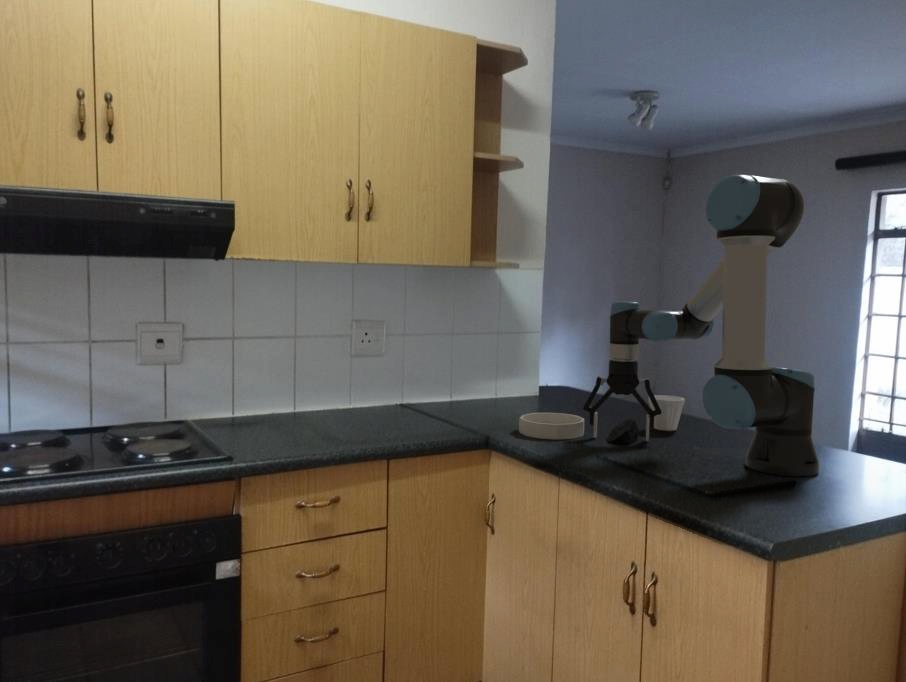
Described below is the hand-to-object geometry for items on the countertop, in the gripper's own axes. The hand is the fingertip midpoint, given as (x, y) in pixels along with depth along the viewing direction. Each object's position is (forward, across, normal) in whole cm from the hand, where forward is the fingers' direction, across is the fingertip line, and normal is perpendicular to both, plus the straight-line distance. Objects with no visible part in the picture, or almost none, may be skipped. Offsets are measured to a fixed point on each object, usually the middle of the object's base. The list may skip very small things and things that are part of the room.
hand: (621, 438), depth 190 cm
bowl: (0, +19, -4) cm, 19 cm away
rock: (+1, -1, +1) cm, 2 cm away
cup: (0, -12, -18) cm, 22 cm away
